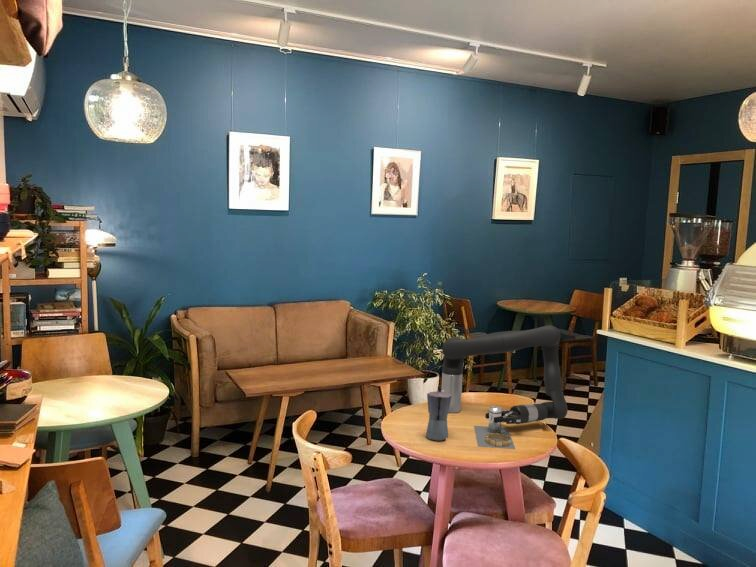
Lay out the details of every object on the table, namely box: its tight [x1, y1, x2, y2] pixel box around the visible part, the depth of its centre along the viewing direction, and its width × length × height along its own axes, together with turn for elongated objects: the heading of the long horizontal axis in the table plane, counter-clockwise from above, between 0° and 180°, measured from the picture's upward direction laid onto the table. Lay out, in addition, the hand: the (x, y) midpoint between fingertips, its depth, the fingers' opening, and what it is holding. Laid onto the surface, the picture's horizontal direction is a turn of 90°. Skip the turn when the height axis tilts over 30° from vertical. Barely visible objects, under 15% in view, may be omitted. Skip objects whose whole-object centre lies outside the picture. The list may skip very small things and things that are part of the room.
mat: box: [473, 425, 516, 450], centre depth 233 cm, size 14×24×1 cm, turn 174°
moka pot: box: [425, 386, 451, 441], centre depth 231 cm, size 10×15×20 cm, turn 179°
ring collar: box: [485, 433, 512, 447], centre depth 227 cm, size 9×9×2 cm
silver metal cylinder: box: [488, 405, 503, 433], centre depth 239 cm, size 5×5×10 cm
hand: (490, 418), depth 237 cm, fingers closed on silver metal cylinder, 5 cm apart
